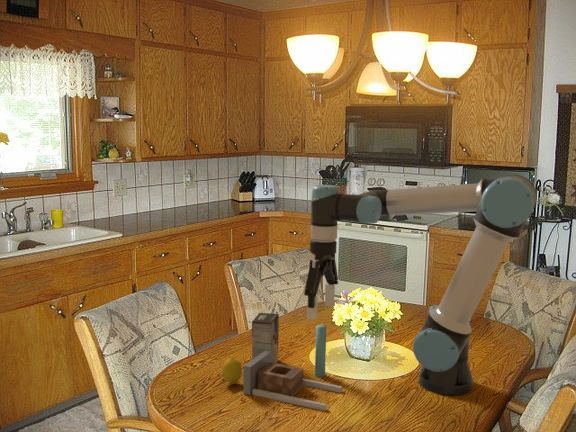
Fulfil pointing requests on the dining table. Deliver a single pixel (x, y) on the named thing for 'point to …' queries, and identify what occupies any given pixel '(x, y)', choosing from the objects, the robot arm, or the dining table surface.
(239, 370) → the lemon
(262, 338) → the coffee box
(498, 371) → the dining table surface
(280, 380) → the socket block
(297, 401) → the slide base
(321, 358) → the dowel
